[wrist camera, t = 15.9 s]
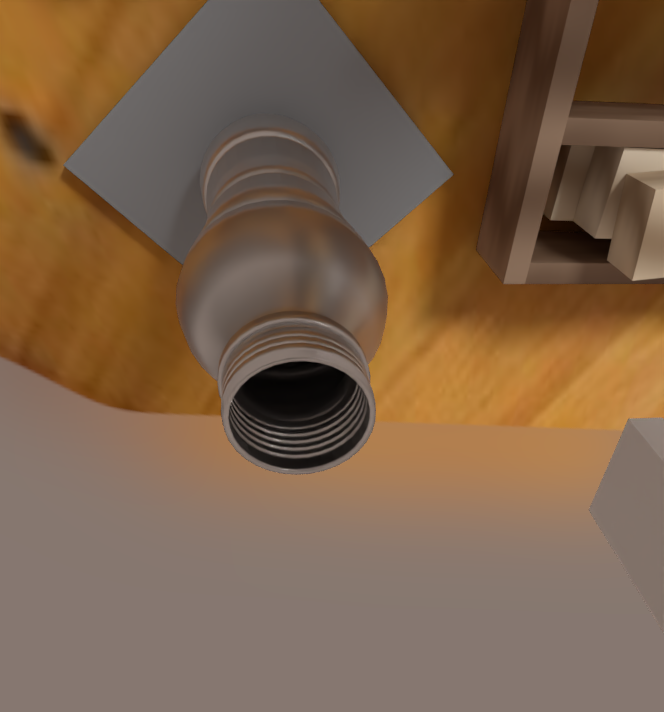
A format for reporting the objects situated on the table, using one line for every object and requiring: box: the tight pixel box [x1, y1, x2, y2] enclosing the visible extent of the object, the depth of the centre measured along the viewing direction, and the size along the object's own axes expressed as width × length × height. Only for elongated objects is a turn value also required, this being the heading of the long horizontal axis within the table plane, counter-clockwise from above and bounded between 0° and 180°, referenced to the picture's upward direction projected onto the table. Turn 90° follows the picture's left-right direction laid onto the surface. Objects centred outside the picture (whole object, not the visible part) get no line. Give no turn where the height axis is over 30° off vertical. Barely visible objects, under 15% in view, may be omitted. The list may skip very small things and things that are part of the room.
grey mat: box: [64, 0, 454, 265], centre depth 31 cm, size 14×14×1 cm
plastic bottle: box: [176, 114, 388, 474], centre depth 22 cm, size 6×7×20 cm
